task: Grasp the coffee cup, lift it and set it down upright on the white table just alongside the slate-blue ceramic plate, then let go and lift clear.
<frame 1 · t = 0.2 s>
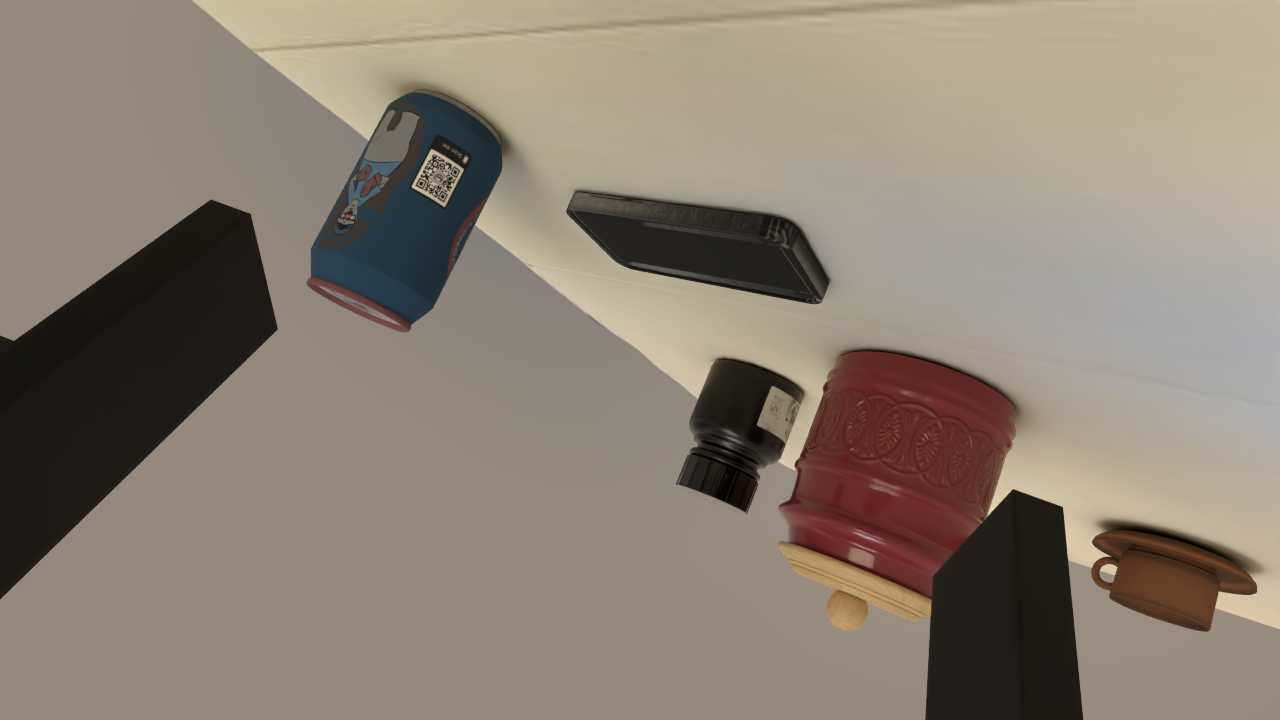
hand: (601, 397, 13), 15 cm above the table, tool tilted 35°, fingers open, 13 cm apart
kitchen canister: (924, 384, 54), on the table
soda can: (457, 118, 43), on the table
cup and saucer: (1175, 543, 67), on the table
phone: (697, 235, 45), on the table
ink bottle: (759, 375, 71), on the table
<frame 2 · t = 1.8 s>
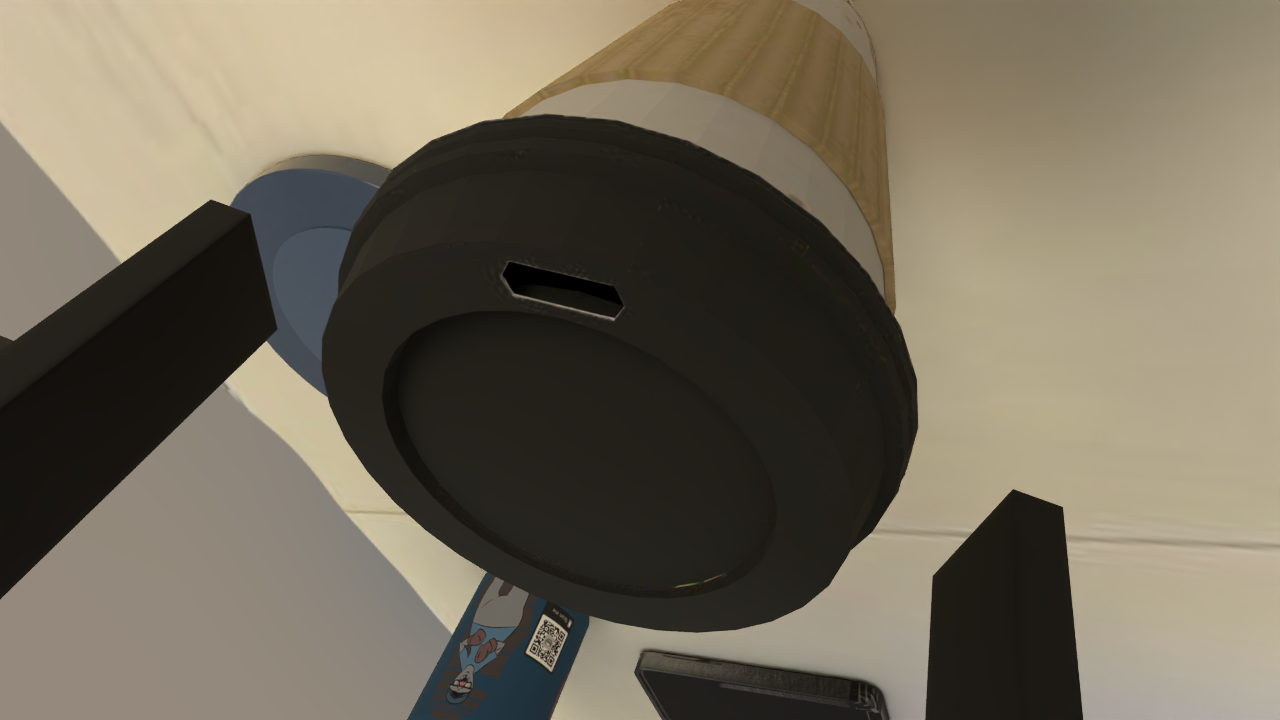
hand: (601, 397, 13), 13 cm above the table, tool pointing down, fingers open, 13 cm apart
coffee cup: (766, 80, 22), on the table
plate: (392, 309, 34), on the table
soda can: (545, 581, 47), on the table
phone: (763, 695, 47), on the table
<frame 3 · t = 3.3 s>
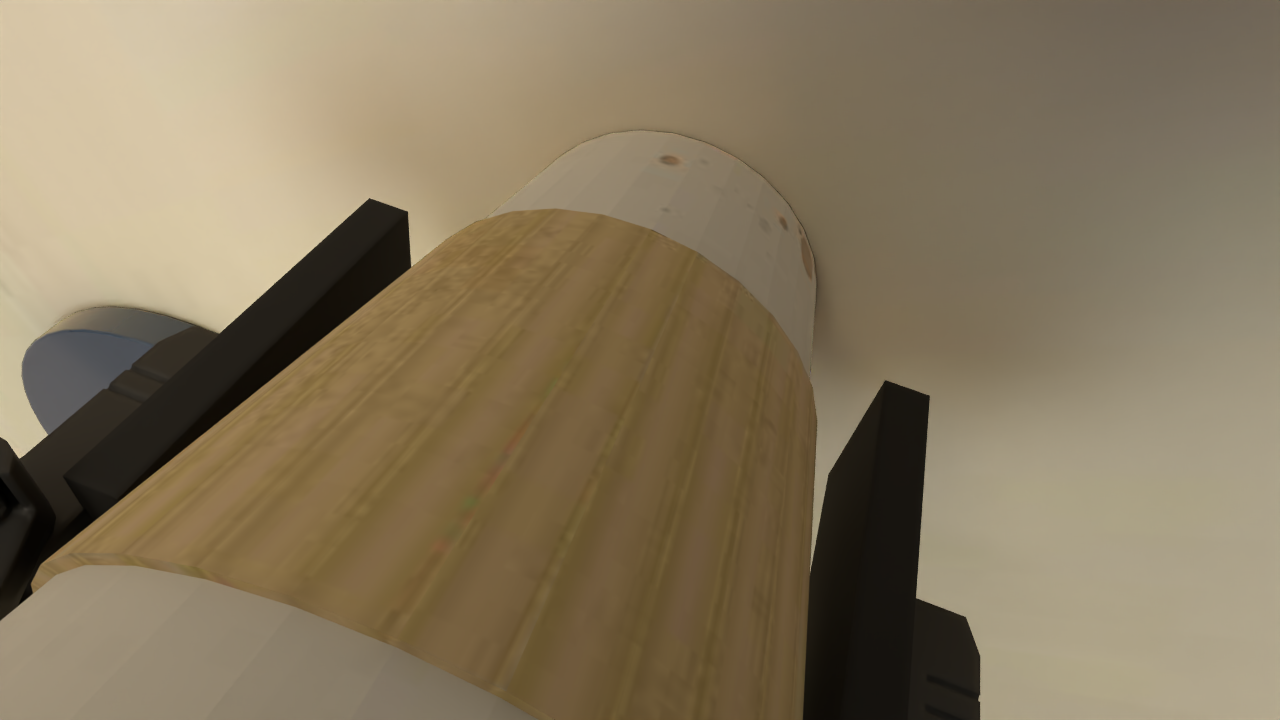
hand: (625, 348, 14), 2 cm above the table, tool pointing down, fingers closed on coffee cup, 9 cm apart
coffee cup: (665, 268, 16), on the table, touching gripper
plate: (245, 472, 28), on the table
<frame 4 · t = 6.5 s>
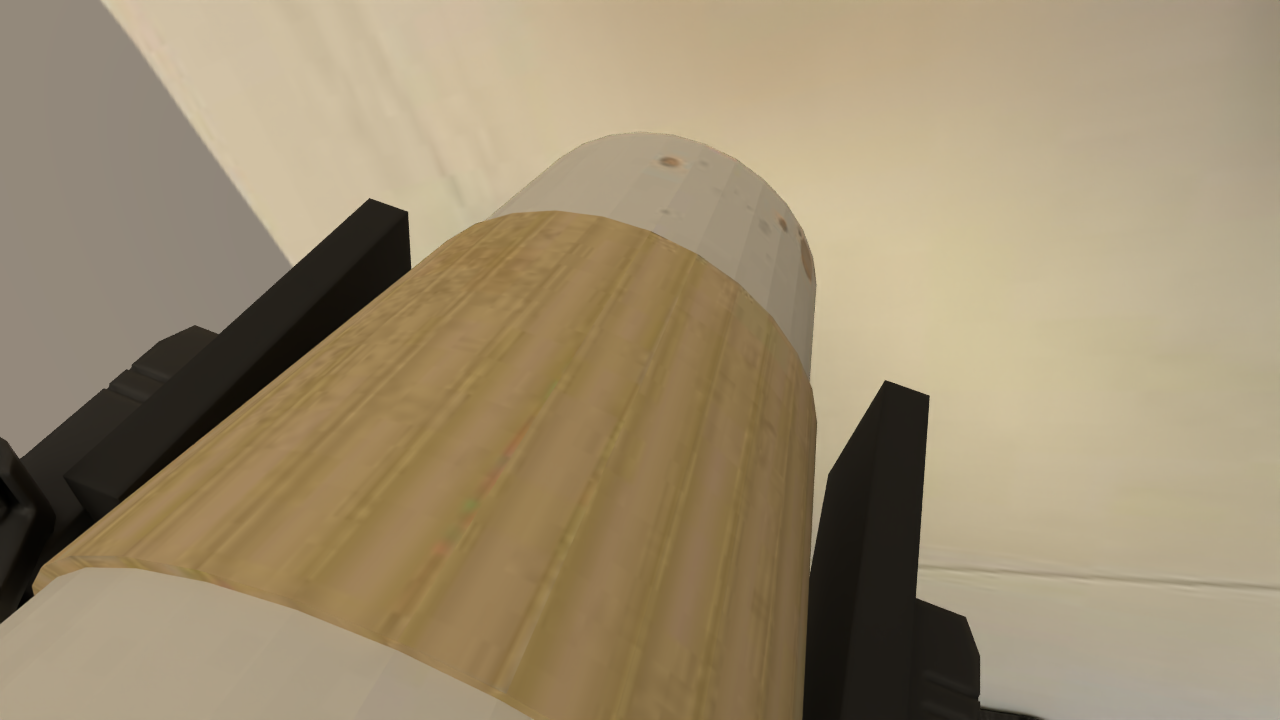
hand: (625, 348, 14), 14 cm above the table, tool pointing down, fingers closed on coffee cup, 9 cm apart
coffee cup: (665, 269, 16), point 11 cm above the table, touching gripper
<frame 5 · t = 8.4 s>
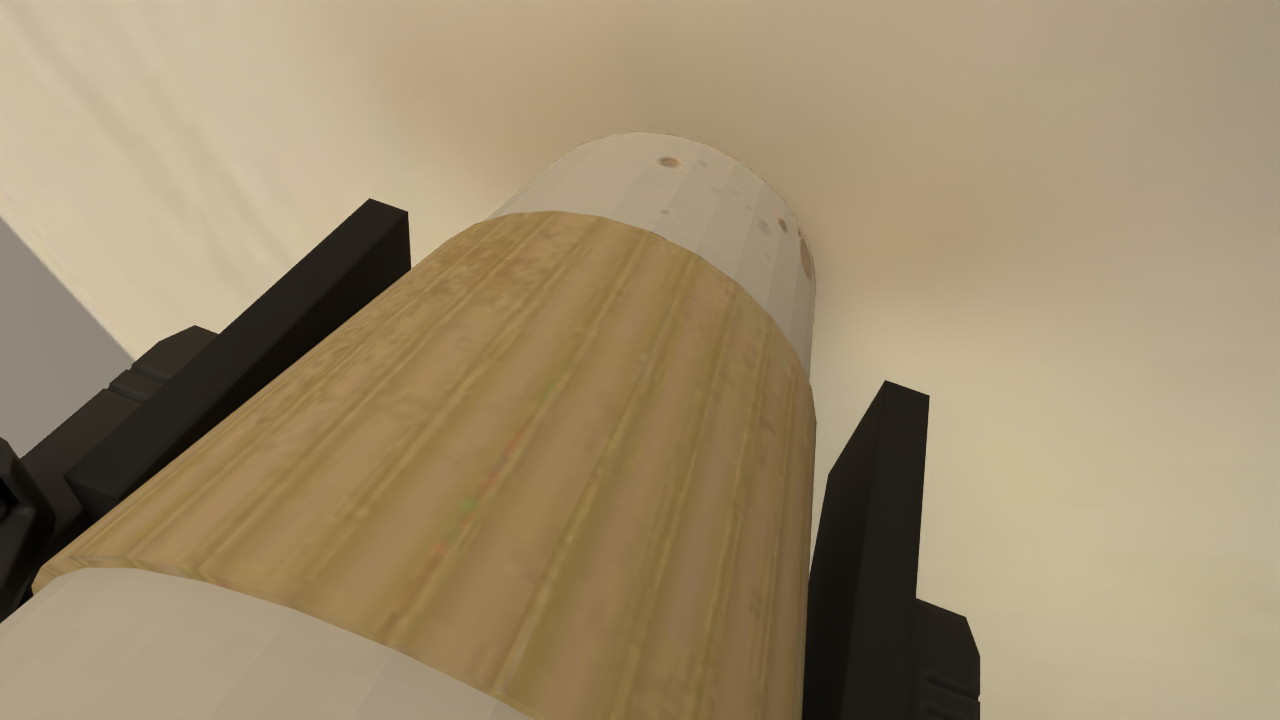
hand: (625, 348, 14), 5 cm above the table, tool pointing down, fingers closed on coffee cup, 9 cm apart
coffee cup: (665, 269, 16), point 2 cm above the table, touching gripper
when the fingers open (2 cm above the table, at t = 9.6 s): coffee cup stays where it is, on the table.
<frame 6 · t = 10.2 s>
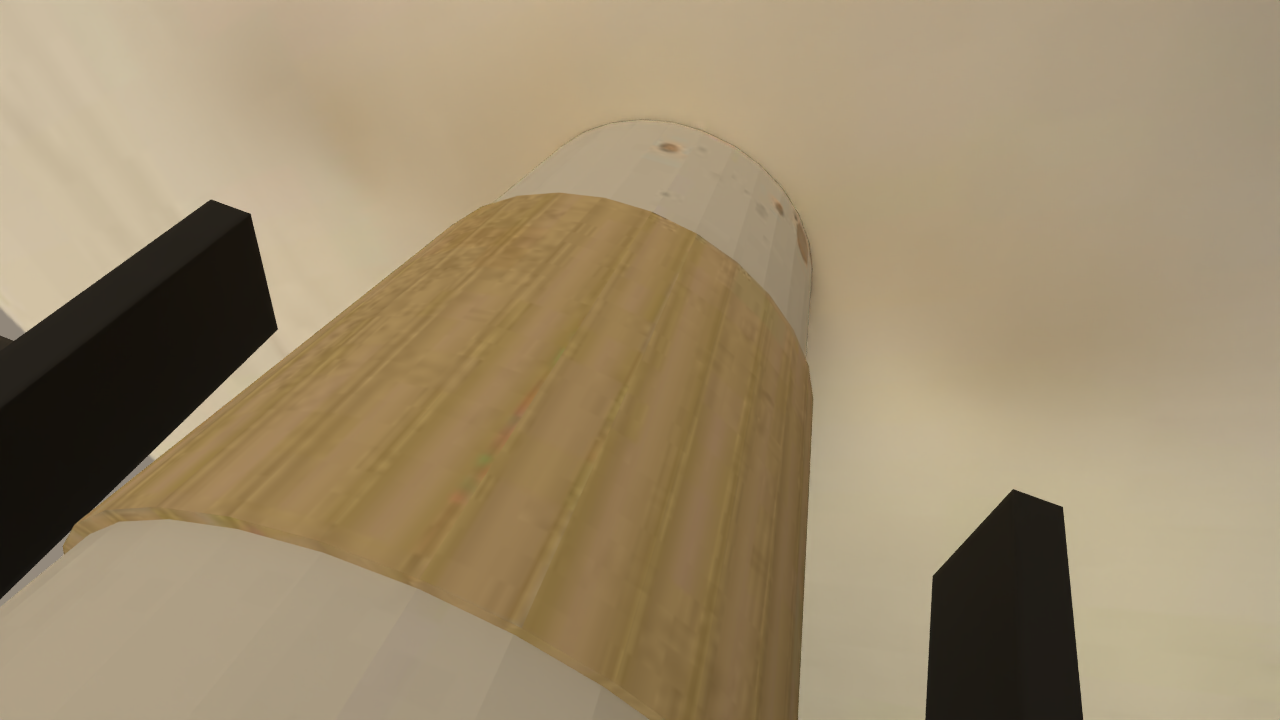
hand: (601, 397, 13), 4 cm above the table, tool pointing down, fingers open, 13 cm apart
coffee cup: (665, 255, 16), on the table
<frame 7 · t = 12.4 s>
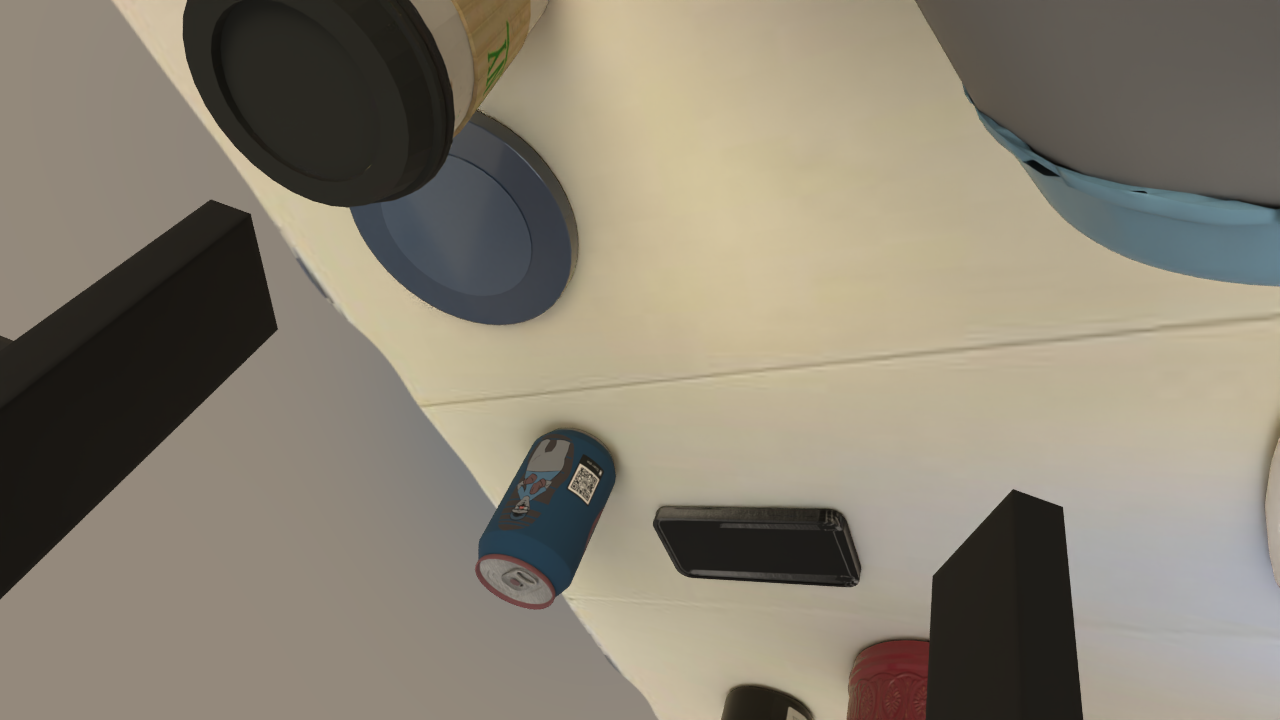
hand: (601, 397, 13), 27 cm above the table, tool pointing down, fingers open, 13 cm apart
kitchen canister: (929, 676, 65), on the table
plate: (465, 218, 47), on the table
soda can: (580, 451, 60), on the table
phone: (756, 537, 60), on the table
ink bottle: (770, 705, 78), on the table
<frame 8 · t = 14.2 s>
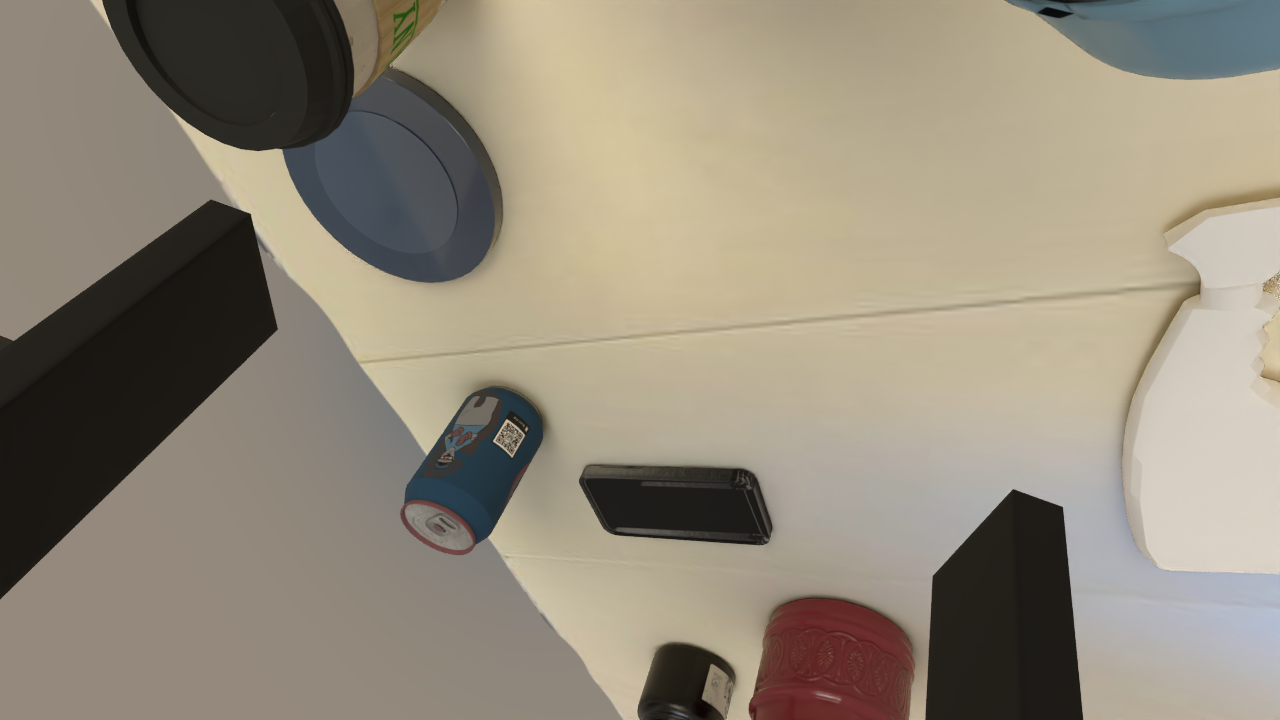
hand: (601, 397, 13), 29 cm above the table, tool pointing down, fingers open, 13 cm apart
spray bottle: (1235, 389, 41), on the table
kitchen canister: (839, 634, 69), on the table
plate: (396, 177, 49), on the table
soda can: (510, 409, 62), on the table
phone: (676, 497, 63), on the table
ink bottle: (695, 663, 81), on the table
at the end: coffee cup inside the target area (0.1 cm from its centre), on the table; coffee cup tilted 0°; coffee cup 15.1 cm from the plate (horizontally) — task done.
